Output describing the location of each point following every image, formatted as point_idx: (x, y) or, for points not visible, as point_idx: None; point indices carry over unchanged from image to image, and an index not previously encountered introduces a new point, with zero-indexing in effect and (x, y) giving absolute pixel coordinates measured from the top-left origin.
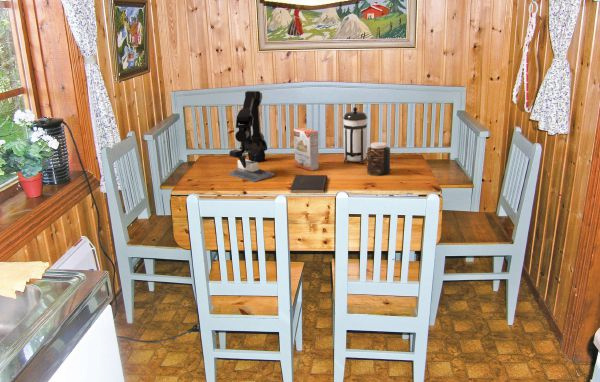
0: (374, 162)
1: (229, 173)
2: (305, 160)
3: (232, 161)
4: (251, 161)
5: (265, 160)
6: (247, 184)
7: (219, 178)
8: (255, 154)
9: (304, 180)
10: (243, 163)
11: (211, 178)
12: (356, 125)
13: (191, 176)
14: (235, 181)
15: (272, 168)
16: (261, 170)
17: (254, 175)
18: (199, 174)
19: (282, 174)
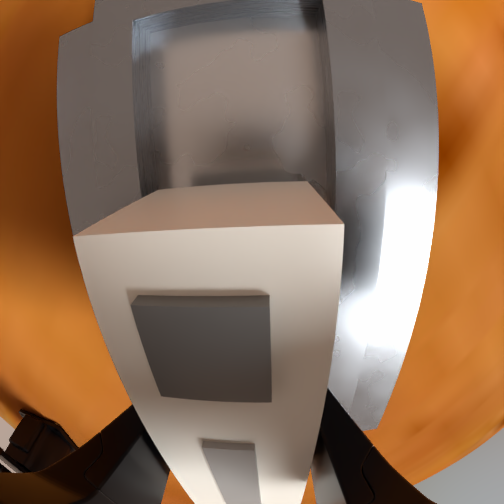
0: None
1: (379, 414)
2: None
3: (170, 499)
4: (171, 425)
5: (27, 412)
6: (485, 35)
7: (471, 374)
8: (14, 495)
9: None
10: (357, 438)
11: (479, 396)
12: None
13: (463, 453)
14: (500, 212)
15: (4, 284)
16: (126, 157)
17: (375, 43)
18: (427, 465)
19: (17, 58)
